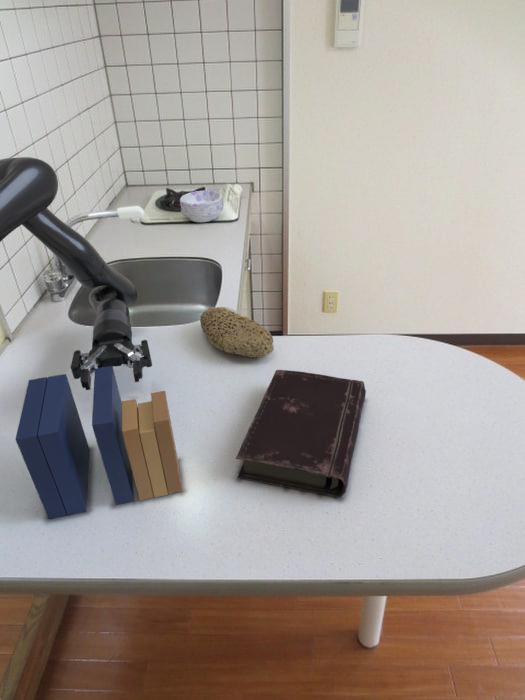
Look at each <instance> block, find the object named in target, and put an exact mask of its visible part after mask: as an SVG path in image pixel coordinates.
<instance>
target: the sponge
mask: <svg viewBox="0 0 525 700" xmlns="http://www.w3.org/2000/svg"><path fill="white" fill-rule="evenodd" d="M199 322H200V327H201V330H202V332H203V333H204V334H205V336H206V337H207V340H208V341H209V343H210V344H211V345H212V346H214V347H215V348H217V349H219V350H220V351H224V352H225V353H228V354H231V355H239V356H244V357H248V358H254V357H255V358H263V357H267V356H268V355H270V354H271V353H272V352H273V351H274V337H273V335H272V334H271V332H270V331H269V330H268V329H267V328H266V327H264V326H262V324H260V323H258V322H257V321H256V320H253V319H250V318H249V317H248V316H242V315H241V314H239V313H237V312H236V310H235V309H232V308H229V307H227V306H212V307H209V308H207V309H206V310H204V311H202V313H201V314H200V319H199Z"/></svg>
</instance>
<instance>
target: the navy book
mask: <svg viewBox="0 0 525 700" xmlns="http://www.w3.org/2000/svg"><path fill="white" fill-rule="evenodd" d="M93 376H94V377H93V399H92V416H91V418H92V419H91V427H92V430H93V433H94V438H95V440H96V444H97V447H98V450H99V453H100V458H101V460H102V464H103V467H104V470H105V474H106V477H107V480H108V483H109V487H110V490H111V493H112V494H111V495H112V497H113V501H114V504H115V506H118V505H124V504H128V503H133V502H135V501H134V499H135V497H134V476H133V472H132V468H131V464H130V460H129V456H128V452H127V448H126V445H125V441H124V437H123V433H122V399H121V394H120V390H119V387H118V382H117V380H116V375H115V371H114V366H109V367H103V368H97V369H95V374H94V375H93Z"/></svg>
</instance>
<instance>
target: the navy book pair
mask: <svg viewBox="0 0 525 700" xmlns="http://www.w3.org/2000/svg"><path fill="white" fill-rule="evenodd" d="M15 442H16V444H17V446H18V450H19V451H20V454H21V457H22V458H23V461H24V464H25V465H26V468H27V471H28V474H29V476H30V478H31V480H32V483H33V485H34V487H35V490H36V492H37V495H38V497H39V499H40V502H41V504H42V507H43V509H44V512H45V514H46V517H47V518H48V520H53V519H58V518H63V517H67V516H71V515H76V514H82V513H86V512H87V510H88V509H87V507H88V506H87V505H88V489H89V472H90V454H91V453H90V452H91V450H90V446H89V444H88V440H87V437H86V433H85V430H84V426H83V423H82V421H81V417H80V415H79V411H78V408H77V404H76V401H75V398H74V395H73V392H72V388H71V385H70V382H69V378H68V375H67V373H62V374H57V375H50V376H44V377H37V378H32V379H28V382H27V386H26V391H25V396H24V400H23V404H22V409H21V414H20V418H19V422H18V426H17V431H16V435H15Z"/></svg>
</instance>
